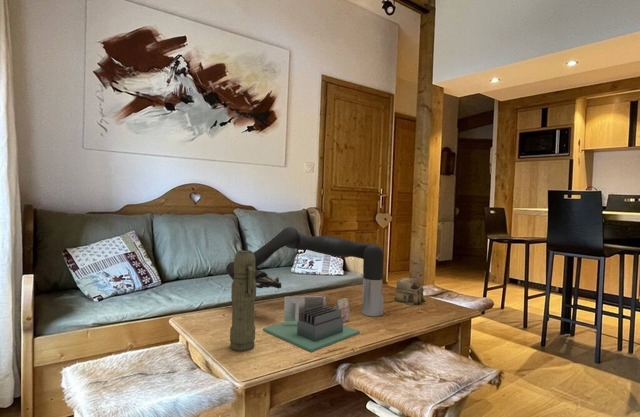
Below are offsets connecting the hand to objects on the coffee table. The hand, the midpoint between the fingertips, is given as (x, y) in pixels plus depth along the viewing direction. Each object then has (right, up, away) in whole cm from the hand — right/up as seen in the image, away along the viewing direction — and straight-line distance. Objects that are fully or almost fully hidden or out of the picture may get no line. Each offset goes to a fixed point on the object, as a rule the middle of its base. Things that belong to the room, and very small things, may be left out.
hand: (280, 285), depth 160 cm
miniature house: (+66, -18, +44) cm, 81 cm away
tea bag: (+26, -18, +8) cm, 33 cm away
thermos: (-11, -17, -24) cm, 31 cm away
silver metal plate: (+11, -14, -1) cm, 18 cm away
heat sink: (+14, -17, -7) cm, 23 cm away
